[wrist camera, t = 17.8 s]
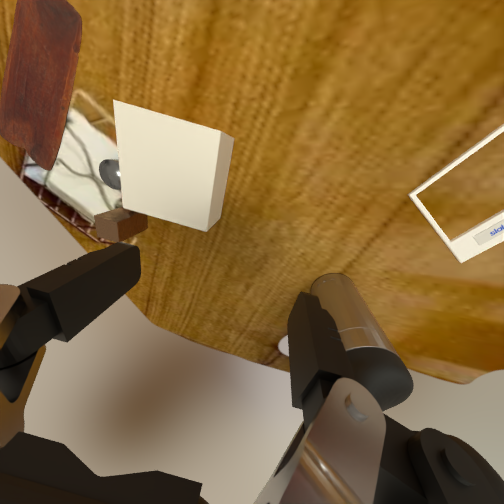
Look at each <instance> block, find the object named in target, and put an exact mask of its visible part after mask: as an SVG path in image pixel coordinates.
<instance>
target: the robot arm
mask: <svg viewBox="0 0 504 504" xmlns="http://www.w3.org/2000/svg"><path fill="white" fill-rule="evenodd" d="M140 276H141V265H140V250H139V248H138V247H137V246H134V245H131V244H127V243H123V242H117V243H115V244H113V245H111V246H109V247H107V248H105V249H101V250H97V251H93V252H90V253H88V254H86V255H83V256H81V257H79V258H78V259H77V260H76V259H75V260H73V261H71V262H69V263H67V265H62V266H60V267H58V268H56V269H54V270H51V271H49V272H47V273H45V274H43V275H41V276H39V277H37V278H34V279H32V280H30V281H28V282H26V283H24V284H22V285H19V286H17V287H16V286H13V285H8V284H0V504H209V503H208V502H207V501H205V500H204V499H203V498H202V497H201V496H200V492H201V487H202V483H199V482H195V481H192V480H188V479H185V478H181V477H178V476H174V475H171V474H167V473H164V472H160V471H149V472H141V473H133V474H125V475H116V476H107V477H100V476H97V475H96V474H94V473H93V472H92V471H91V470H90V469H89V468H88V467H87V466H86V465H85V464H84V463H83V462H82V461H81V460H80V459H79V458H78V457H76V455H75V454H74V453H73V452H71V451H70V450H69V449H68V448H67V447H66V446H65V445H64V444H62V443H59V442H55V441H51V440H48V439H44V438H41V437H38V436H34V435H31V434H27V433H24V408H25V405H26V402H27V399H28V397H29V394H30V391H31V389H32V386H33V383H34V381H35V378H36V375H37V373H38V370H39V368H40V365H41V362H42V360H43V357H44V354H45V352H46V346H45V344H46V343H47V342H48V341H50V340H51V339H52V338H53V339H57V340H60V341H64V342H68V341H69V340H71V339H72V338H73V337H74V336H75V335H77V334H78V333H79V332H80V331H81V330H82V329H84V328H85V327H86V326H87V325H89V324H90V323H91V322H92V321H93V320H94V319H96V318H97V317H98V316H99V315H100V314H101V313H103V312H104V311H105V310H106V309H107V308H109V307H110V306H111V305H112V304H113V303H114V302H116V301H117V300H118V299H119V298H120V297H121V296H123V295H124V294H125V293H126V292H128V291H129V290H130V289H131V288H132V287H133V286H135V285H136V284H137V282H138V281H139V279H140ZM288 344H289V360H290V376H291V391H292V392H291V393H292V406H293V407H295V408H299V409H302V410H303V417H304V421H303V422H302V423H301V425H300V427H299V428H298V430H297V432H296V434H295V435H294V437H293V439H292V441H291V442H290V444H289V446H288V448H287V450H286V451H285V453H284V455H283V457H282V458H281V460H280V462H279V463H278V465H277V467H276V469H275V470H274V472H273V474H272V476H271V477H270V479H269V481H268V482H267V484H266V485H265V487H264V488H263V490H262V491H261V493H260V494H259V496H258V497H257V499H256V501H255V502H254V504H504V481H503V480H502V478H501V477H500V476H499V475H498V474H497V472H496V471H495V470H494V469H493V468H492V466H491V465H490V464H489V463H488V462H487V461H486V460H485V459H484V458H483V457H482V456H481V455H480V454H479V453H478V452H477V451H476V450H475V449H474V448H472V447H471V446H470V445H469V444H467V443H465V442H464V441H462V440H461V439H459V438H457V437H454V436H451V435H447V434H444V433H442V432H440V431H438V430H436V429H432V428H425V429H423V430H421V431H411V430H409V429H408V428H406V427H405V426H403V425H401V424H400V423H398V422H396V421H395V420H393V419H392V418H390V417H388V416H387V415H385V414H384V413H383V411H385V410H387V409H389V408H391V407H394V406H396V405H398V404H400V403H402V402H403V401H405V400H406V399H407V398H408V397H409V396H410V394H411V393H412V390H413V380H412V377H411V375H410V373H409V371H408V370H407V368H406V366H405V365H404V363H403V362H402V360H401V358H400V357H399V355H398V354H397V352H396V350H395V349H394V347H393V346H392V344H391V342H390V341H389V339H388V338H387V336H386V335H385V333H384V331H383V330H382V328H381V327H380V325H379V323H378V322H377V320H376V319H375V317H374V315H373V314H372V312H371V311H370V309H369V307H368V306H367V304H366V303H365V301H364V299H363V298H362V296H361V295H360V293H359V291H358V290H357V288H356V287H355V285H354V283H353V282H352V280H351V279H350V278H348V277H347V276H345V275H342V274H337V273H332V274H327V275H324V276H322V277H320V278H318V279H317V280H316V281H315V282H314V283H313V285H312V288H311V294H308V293H305V292H300V294H299V296H298V298H297V300H296V302H295V304H294V306H293V309H292V311H291V313H290V315H289V319H288Z"/></svg>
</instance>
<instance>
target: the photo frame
mask: <svg viewBox="0 0 504 504" xmlns="http://www.w3.org/2000/svg"><path fill="white" fill-rule="evenodd" d="M503 131H504V124H502V125H501V126H500V127H498V128H497V129H495V130H494V131H493V132H491V133H490V134H489V135H487V136H486V137H485V138H483V139H482V140H481V141H479V142H478V143H477V144H475V145H474V146H472V147H471V148H470V149H468V150H467V151H466V152H464V153H463V154H462V155H460V156H459V157H458V158H456V159H455V160H454V161H452V162H451V163H450V164H448V165H447V166H445V167H444V168H443V169H441V170H440V171H439V172H437V173H436V174H435V175H433V176H432V177H431V178H429V179H428V180H427V181H425V182H424V183H423V184H421V185H420V186H418V187H417V188H416V189H414V190H413V191H412V192H410V193H409V194H408V196H409V197H410V199H411V200H412V201H413V203H414V204H415V205H416V206H417V208H418V209H419V210H420V212H421V213H422V214H423V216H424V217H425V218H426V219H427V221H428V222H429V223H430V225H431V226H432V227H433V229H434V230H435V231H436V233H437V234H438V235H439V236H440V238H441V239H442V240H443V242H444V243H445V244H446V246H447V247H448V248H449V250H450V251H451V252H452V253H453V255H454V256H455V257H456V259H457V260H458V261H459V262H460V263H462V262H464V261H466V260H468V259H470V258H472V257H474V256H475V255H477V254H479V253H481V252H483V251H485V250H487V249H489V248H491V247H493V246H494V245H496V244H498V243H500V242H502V241H504V209H503V210H502V211H500V212H498V213H496V214H495V215H493V216H491V217H490V218H488V219H486V220H484V221H483V222H481V223H479V224H478V225H476V226H474V227H472V228H471V229H469V230H467V231H466V232H464V233H462V234H460V235H459V236H457V237H455V238H454V239H452V240H449V239H448V238H447V236H446V235H445V234H444V232H443V231H442V230H441V228H440V227H439V226H438V224H437V223H436V222H435V220H434V219H433V218H432V216H431V215H430V214H429V212H428V211H427V210H426V208H425V207H424V206H423V204H422V203H421V202H420V200H419V199H418V198H417V196H416V194H418V193H419V192H421V191H422V190H423V189H425V188H426V187H427V186H429V185H430V184H432V183H433V182H434V181H436V180H437V179H438V178H440V177H441V176H443V175H444V174H445V173H447V172H448V171H449V170H451V169H452V168H454V167H455V166H456V165H458V164H459V163H460V162H462V161H463V160H465V159H466V158H467V157H469V156H470V155H471V154H473V153H474V152H476V151H477V150H478V149H480V148H481V147H482V146H484V145H485V144H487V143H488V142H489V141H491V140H492V139H493V138H495V137H496V136H498V135H499V134H500V133H502V132H503Z"/></svg>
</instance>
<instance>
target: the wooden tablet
mask: <svg viewBox="0 0 504 504" xmlns="http://www.w3.org/2000/svg"><path fill="white" fill-rule="evenodd" d="M81 37H82V21H81V17H80V15H79V13H78V12H77V11H76V10H75V9H74V7H73V6H72V5H71V4H69V3H68V2H67V1H66V0H17V4H16V10H15V17H14V25H13V30H12V35H11V41H10V45H9V52H8V56H7V61H6V68H5V72H4V78H3V85H2V92H1V100H0V135H1V136H2V137H3V138H4V139H5V140H7V141H8V142H10V143H11V144H14V145H15V146H18V147H24V148H25V149H26V151H27V153H28V155H29V156H30V157H31V158H32V160H33V161H35V162H36V163H37V164H38V165H39V166H40V167H42V168H43V169H45V170H51V168H52V166H53V164H54V161H55V159H56V156H57V152H58V150H59V147H60V143H61V139H62V135H63V131H64V127H65V123H66V117H67V112H68V107H69V104H70V99H71V94H72V89H73V84H74V79H75V74H76V68H77V63H78V53H79V51H80V44H81Z"/></svg>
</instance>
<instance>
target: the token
mask: <svg viewBox="0 0 504 504" xmlns="http://www.w3.org/2000/svg"><path fill="white" fill-rule="evenodd" d="M99 172H100V176H101V178H102V180H103V181H104V182H105V183H106V184H107V185H108V186H109V187H111V188H113V189H121V180H120V169H119V160H103V161H102V162H101V163H100V166H99Z"/></svg>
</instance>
